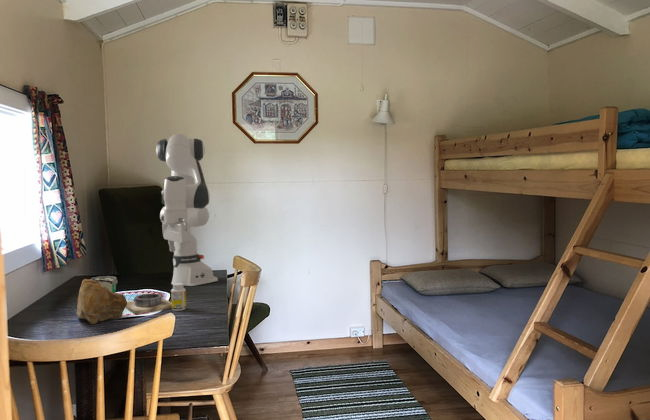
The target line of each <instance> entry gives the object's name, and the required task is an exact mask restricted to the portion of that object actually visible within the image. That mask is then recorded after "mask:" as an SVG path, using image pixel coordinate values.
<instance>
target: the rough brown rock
mask: <svg viewBox="0 0 650 420" xmlns="http://www.w3.org/2000/svg"><path fill="white" fill-rule="evenodd" d="M127 302H128V301H127V297H126V296H125V295H124V293H123V294H122V293H118V292H115V293H111V291H110V290H108V289H107V288H106V287H105V286H102V285H101V284H100V283H99V282H98V281H94V280H91V278H90V279H87V278H84V279H83V280H82V282H81V285H80V288H79V291H78V297H77V307H76V316H77V318H80V319H82V320H86V321H87V322H88V323H90V324H92V325H96V324H97V323H98V322H103V321H107V320H109V319H115V320H116V319H117V320H119V319H121V318H122V316H123V314H124V313H123V312H124V311H125V309H126V308H125V307H126V306H127Z"/></svg>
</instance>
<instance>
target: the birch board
mask: <svg viewBox="0 0 650 420" xmlns="http://www.w3.org/2000/svg"><path fill="white" fill-rule="evenodd" d="M125 309H126V310H128V311H129V312H130V313H132V314H134V315H138V314H144V313H145V314H146V313H149V312H155V311H162V310H167V309H168V310H169V309H172V302H171V301H169V300H168V299H166V298H163V297H162V304H160V305H157V306H152V307H136V306H135V305H134V300H133V301H127V306H126V307H125Z"/></svg>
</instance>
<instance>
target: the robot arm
mask: <svg viewBox="0 0 650 420" xmlns="http://www.w3.org/2000/svg"><path fill="white" fill-rule="evenodd" d="M205 153H206V147H205V144H204V142H203V141H202V139H199V138H189V137H188V136H187V135H185V134H183V133H175V134H173V135H171V136H170V137H169V138H168V139H167V138H163V139H160V140H158V142H157V144H156V147H155V154H156V155H157V158H158V159H159V161H162V162H165V163H166V165H167V167H168V168H169V169H170V176H167V177H166V178H165V179H164V184H163V189H162V190H161V204H163V205H164V206H163V207H162V208H161V210H160V213H159V219H160V222H161V223H162V225H161V227H162V228H161V229H162V236H163V239H164V240H166V241H167V243H168V246H169V247H168V248H169V252H171V253H172V252H173V255H172V263H173V271H172V274H173V275H172V279H171V283H170V284H171V285H173V284H175V283H183V286H185V287H186V286H188V287H194V286H199V285H205V284H211V283H214V282H219V278H218V277H216V276H215V275H214V272H213V269H212V268H211V267H210V266H209V265H208V264H207V263H205V262H203V261H202V260H204V259H205V255H204V254H199V253H198V246H197V245H198V243H197V241H198V240H197V238H196V236H195V235H193V234H192V233H191V228H196V227H197V228H198V227H202V226H205V225H207V223H208V222H209V218H210V213H209V210H208V208H207V206H208V205H209V203H210V198H211V197H210V191H209V188H208V186H207V184H206V180H205V177H204V173H203V169H202V167H201V163H200V161H201V160H203V158H204V157H205V156H204V155H205Z"/></svg>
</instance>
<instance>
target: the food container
mask: <svg viewBox="0 0 650 420" xmlns="http://www.w3.org/2000/svg"><path fill="white" fill-rule="evenodd" d="M90 279H91V280H94V281H98V282H99V283H100V284H101V285H102V286H105V287H106V288H107V289H108V290H110V291H111V293H117V291H116V289H117V288H116V287H117V284H118V279H117V277H116V276H111V275H106V276H105V275H103V276H96V277H91V278H90Z"/></svg>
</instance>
